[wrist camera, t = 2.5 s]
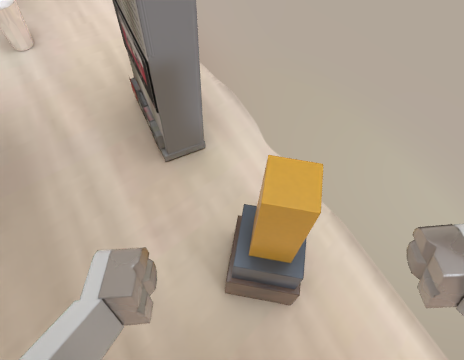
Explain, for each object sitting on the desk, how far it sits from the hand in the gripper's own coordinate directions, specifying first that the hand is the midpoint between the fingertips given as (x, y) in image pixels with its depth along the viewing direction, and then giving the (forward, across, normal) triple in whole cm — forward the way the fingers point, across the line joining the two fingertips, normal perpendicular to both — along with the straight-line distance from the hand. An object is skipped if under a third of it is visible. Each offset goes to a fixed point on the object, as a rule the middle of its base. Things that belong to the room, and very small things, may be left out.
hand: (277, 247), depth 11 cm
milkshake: (+52, +38, +13) cm, 66 cm away
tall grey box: (+37, +13, +21) cm, 44 cm away
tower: (+16, +1, +28) cm, 32 cm away
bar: (+14, 0, +19) cm, 24 cm away
